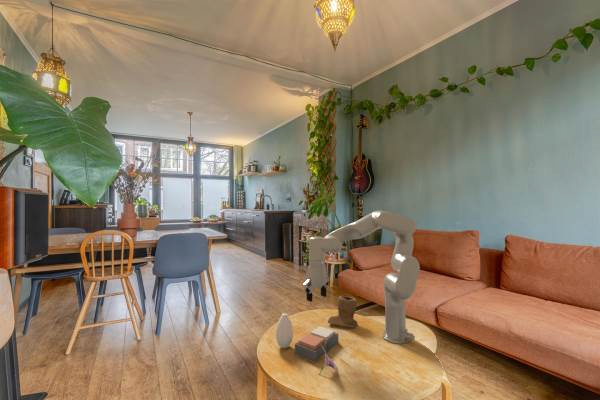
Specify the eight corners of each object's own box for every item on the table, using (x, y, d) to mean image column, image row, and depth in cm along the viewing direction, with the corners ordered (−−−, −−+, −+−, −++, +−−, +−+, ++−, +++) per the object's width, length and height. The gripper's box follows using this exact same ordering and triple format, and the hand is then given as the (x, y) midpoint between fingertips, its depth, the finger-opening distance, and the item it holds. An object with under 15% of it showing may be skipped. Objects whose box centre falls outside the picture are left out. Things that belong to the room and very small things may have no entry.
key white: (334, 336, 131) (334, 330, 131) (326, 342, 125) (326, 337, 125) (319, 331, 136) (319, 326, 136) (310, 337, 130) (310, 332, 130)
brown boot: (359, 322, 155) (359, 295, 155) (354, 331, 144) (354, 302, 144) (333, 317, 161) (333, 291, 161) (327, 326, 150) (327, 298, 150)
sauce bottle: (282, 341, 134) (281, 304, 134) (296, 345, 130) (295, 307, 130) (272, 349, 127) (272, 310, 127) (287, 353, 123) (287, 313, 123)
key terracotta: (324, 344, 124) (324, 338, 124) (314, 352, 118) (314, 346, 118) (308, 339, 129) (308, 333, 129) (298, 346, 123) (298, 340, 123)
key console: (338, 343, 132) (338, 333, 132) (315, 362, 116) (315, 352, 116) (319, 336, 138) (318, 327, 138) (294, 354, 122) (294, 344, 122)
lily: (334, 390, 100) (345, 364, 102) (306, 371, 104) (317, 346, 106) (337, 380, 111) (347, 357, 113) (312, 363, 115) (322, 341, 117)
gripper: (323, 259, 140) (322, 292, 140) (298, 264, 129) (298, 300, 128) (334, 261, 135) (334, 296, 135) (309, 266, 123) (309, 305, 123)
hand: (316, 298), depth 132 cm, fingers open, 9 cm apart
